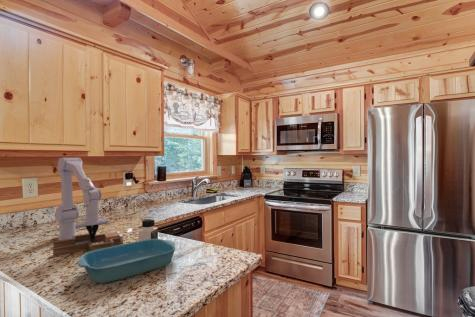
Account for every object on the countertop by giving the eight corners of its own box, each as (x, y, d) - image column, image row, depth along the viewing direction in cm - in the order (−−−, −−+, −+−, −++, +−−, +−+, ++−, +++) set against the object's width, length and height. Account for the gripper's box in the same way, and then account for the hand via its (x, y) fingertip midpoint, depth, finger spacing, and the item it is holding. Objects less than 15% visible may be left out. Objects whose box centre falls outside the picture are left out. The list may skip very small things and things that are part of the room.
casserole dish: (162, 249, 124) (161, 234, 124) (185, 263, 107) (185, 246, 107) (71, 272, 100) (71, 253, 99) (84, 295, 83) (84, 273, 83)
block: (104, 241, 135) (104, 234, 135) (117, 239, 138) (117, 232, 138) (106, 244, 130) (105, 237, 130) (119, 242, 133) (118, 235, 133)
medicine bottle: (151, 245, 128) (150, 221, 128) (138, 244, 130) (138, 220, 130) (158, 241, 135) (158, 218, 135) (145, 240, 137) (145, 217, 137)
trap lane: (53, 244, 130) (53, 238, 130) (116, 234, 146) (116, 228, 146) (52, 259, 111) (52, 251, 111) (125, 245, 128) (125, 238, 128)
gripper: (75, 216, 122) (75, 245, 122) (109, 213, 130) (109, 239, 130) (74, 214, 128) (75, 241, 128) (107, 210, 136) (107, 236, 136)
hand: (92, 240), depth 130 cm, fingers closed
